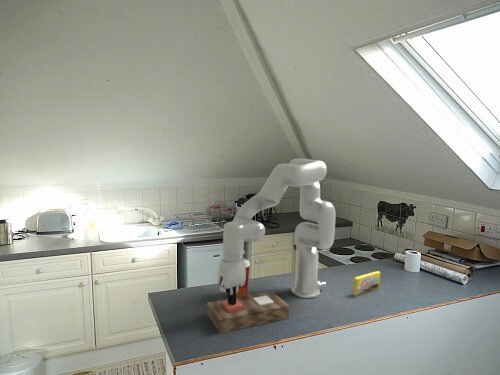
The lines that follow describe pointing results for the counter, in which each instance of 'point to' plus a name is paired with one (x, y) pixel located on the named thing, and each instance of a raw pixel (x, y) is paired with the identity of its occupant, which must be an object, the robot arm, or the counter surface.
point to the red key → (232, 306)
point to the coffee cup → (243, 289)
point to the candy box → (366, 283)
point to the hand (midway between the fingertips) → (231, 303)
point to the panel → (247, 312)
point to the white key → (263, 301)
